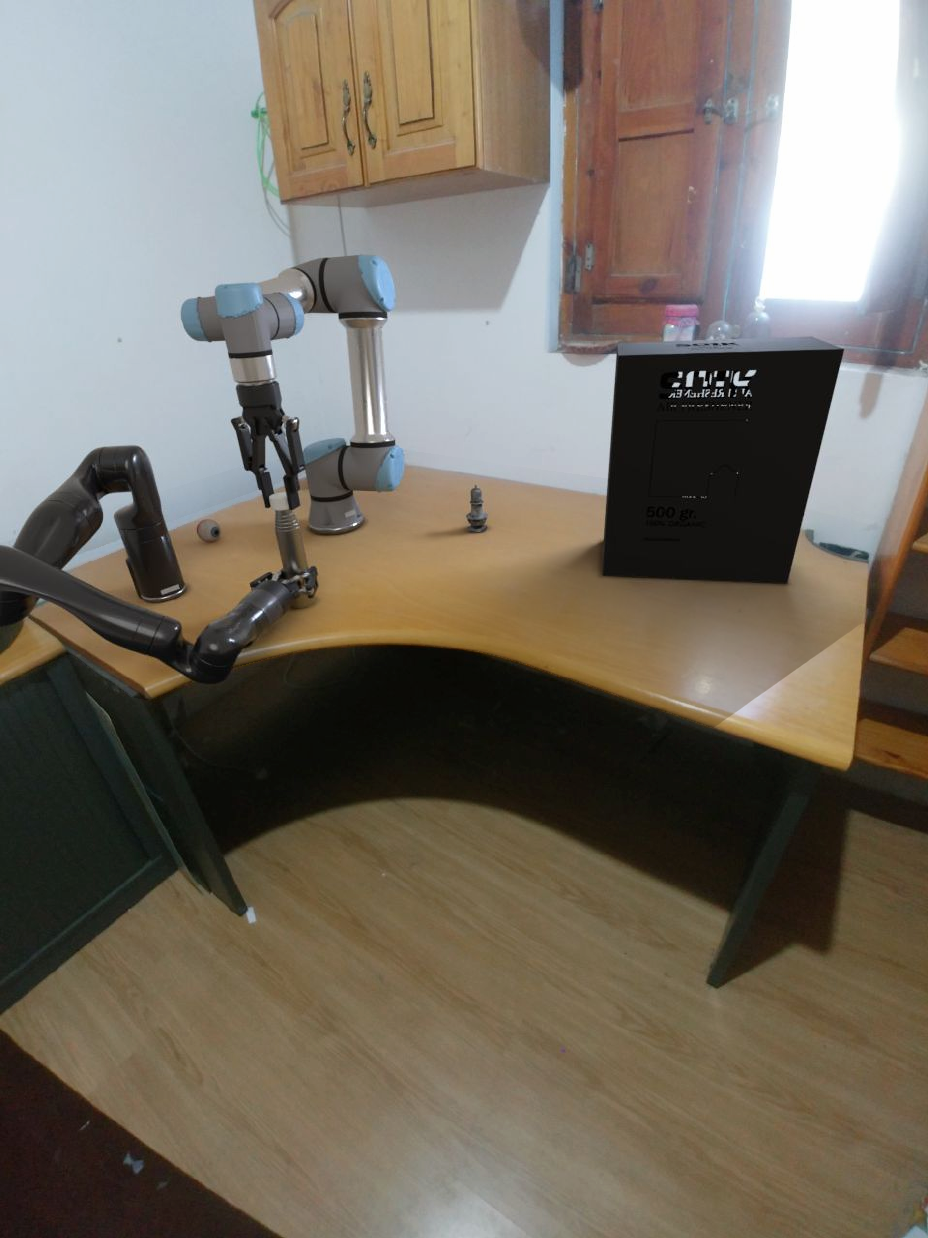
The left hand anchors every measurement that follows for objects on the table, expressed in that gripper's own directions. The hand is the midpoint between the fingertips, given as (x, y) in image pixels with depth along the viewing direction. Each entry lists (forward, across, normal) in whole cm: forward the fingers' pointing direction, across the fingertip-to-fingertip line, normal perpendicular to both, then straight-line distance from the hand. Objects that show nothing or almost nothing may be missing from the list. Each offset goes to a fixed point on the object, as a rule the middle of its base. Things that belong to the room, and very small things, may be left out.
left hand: (302, 569), depth 129 cm
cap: (-3, 0, +17) cm, 17 cm away
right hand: (-3, 0, +15) cm, 15 cm away
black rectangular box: (+28, +81, -7) cm, 86 cm away
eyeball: (+27, -41, -7) cm, 50 cm away
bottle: (-3, 0, -7) cm, 7 cm away
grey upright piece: (+43, +29, -7) cm, 52 cm away
